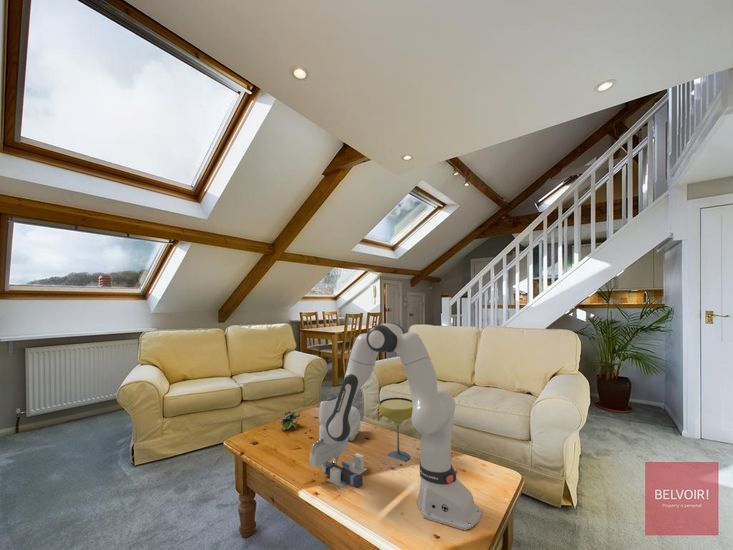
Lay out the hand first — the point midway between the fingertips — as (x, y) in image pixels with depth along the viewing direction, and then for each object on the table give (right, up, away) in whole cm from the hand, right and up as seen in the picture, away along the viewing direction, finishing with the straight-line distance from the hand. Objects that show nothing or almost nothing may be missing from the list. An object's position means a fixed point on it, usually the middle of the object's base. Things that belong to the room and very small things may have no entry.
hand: (329, 468), depth 141 cm
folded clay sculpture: (+7, -6, +39) cm, 40 cm away
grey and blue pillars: (+8, -3, -2) cm, 9 cm away
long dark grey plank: (+5, -1, -4) cm, 7 cm away
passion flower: (-29, -7, +52) cm, 60 cm away
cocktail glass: (+31, -4, +16) cm, 35 cm away
